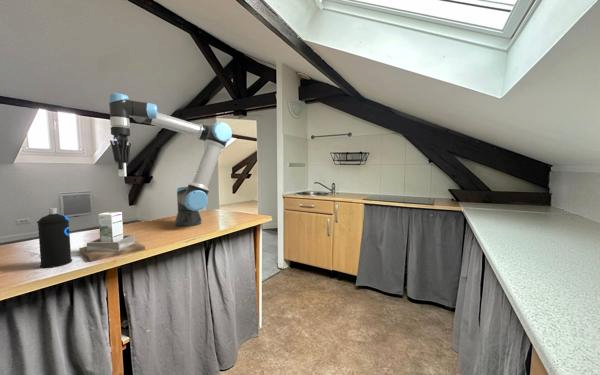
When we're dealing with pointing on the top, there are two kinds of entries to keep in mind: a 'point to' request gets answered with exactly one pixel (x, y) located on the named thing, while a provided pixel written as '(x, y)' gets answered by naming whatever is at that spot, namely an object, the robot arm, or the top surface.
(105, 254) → the socket holder
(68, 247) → the aerosol can
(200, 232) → the top surface
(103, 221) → the syrup box
